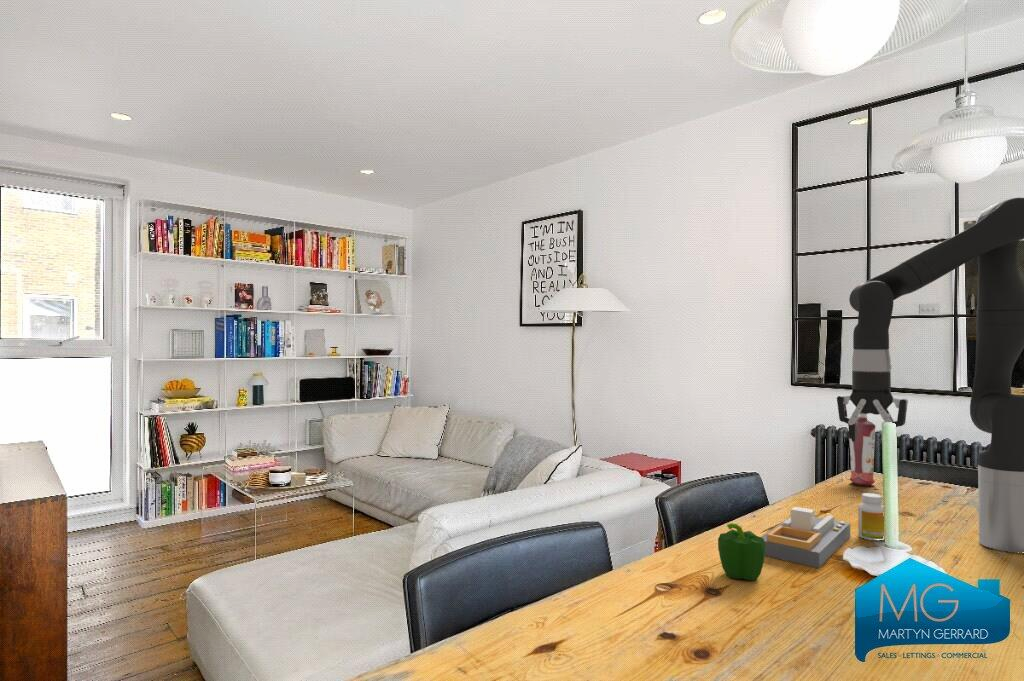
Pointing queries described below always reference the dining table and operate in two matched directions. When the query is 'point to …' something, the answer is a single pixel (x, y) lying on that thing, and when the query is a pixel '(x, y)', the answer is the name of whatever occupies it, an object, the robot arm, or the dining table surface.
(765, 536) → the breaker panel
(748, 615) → the dining table surface
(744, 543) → the bell pepper
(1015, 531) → the robot arm
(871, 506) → the supplement bottle
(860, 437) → the liquor
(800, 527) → the handle
